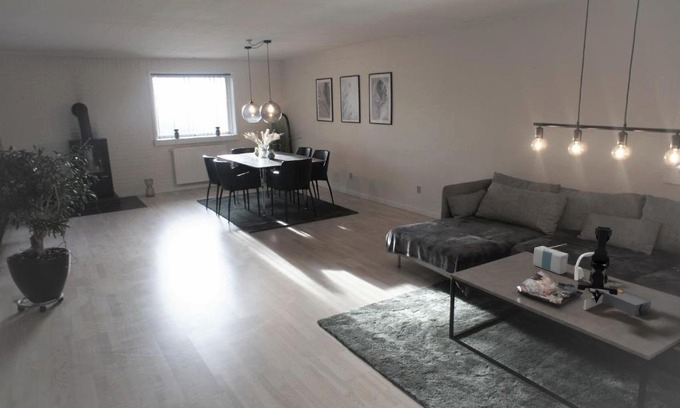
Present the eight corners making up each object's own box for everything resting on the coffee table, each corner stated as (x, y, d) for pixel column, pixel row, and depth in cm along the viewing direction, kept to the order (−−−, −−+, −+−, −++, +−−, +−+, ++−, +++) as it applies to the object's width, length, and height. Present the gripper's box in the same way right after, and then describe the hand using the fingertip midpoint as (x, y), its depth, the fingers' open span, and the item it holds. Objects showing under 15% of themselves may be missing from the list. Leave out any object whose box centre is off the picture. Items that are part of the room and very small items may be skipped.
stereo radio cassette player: (532, 265, 314) (534, 237, 309) (540, 263, 318) (543, 235, 313) (559, 275, 296) (562, 246, 291) (567, 273, 300) (570, 243, 295)
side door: (600, 301, 257) (601, 292, 256) (603, 302, 256) (604, 293, 255) (581, 308, 249) (582, 299, 248) (585, 310, 247) (586, 300, 246)
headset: (578, 282, 284) (581, 255, 280) (570, 278, 291) (573, 251, 287) (606, 280, 288) (609, 252, 284) (598, 275, 294) (601, 249, 290)
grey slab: (599, 301, 258) (601, 289, 257) (614, 297, 263) (616, 286, 261) (636, 317, 239) (638, 304, 238) (652, 312, 244) (653, 300, 242)
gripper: (618, 273, 247) (616, 300, 250) (579, 268, 257) (578, 294, 260) (618, 280, 238) (616, 308, 241) (578, 275, 248) (576, 302, 251)
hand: (596, 303), depth 249 cm, fingers closed
